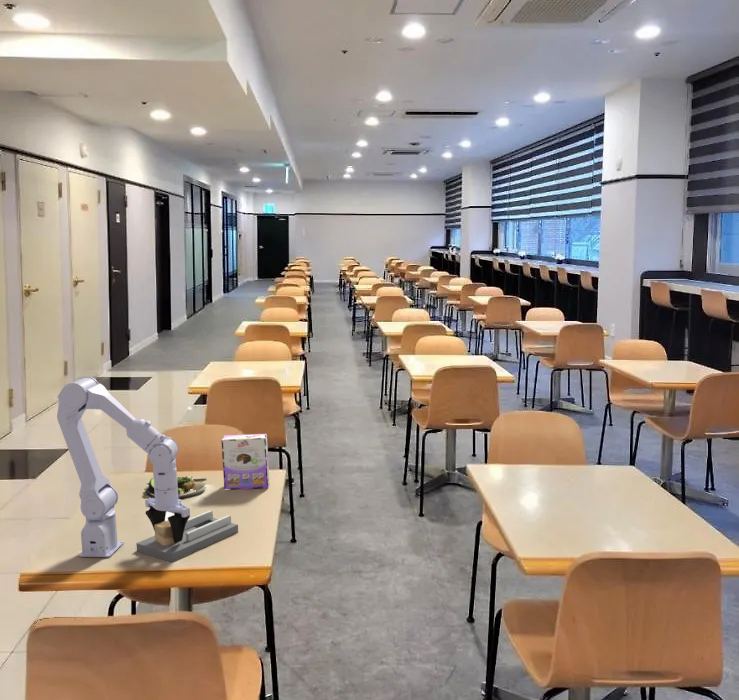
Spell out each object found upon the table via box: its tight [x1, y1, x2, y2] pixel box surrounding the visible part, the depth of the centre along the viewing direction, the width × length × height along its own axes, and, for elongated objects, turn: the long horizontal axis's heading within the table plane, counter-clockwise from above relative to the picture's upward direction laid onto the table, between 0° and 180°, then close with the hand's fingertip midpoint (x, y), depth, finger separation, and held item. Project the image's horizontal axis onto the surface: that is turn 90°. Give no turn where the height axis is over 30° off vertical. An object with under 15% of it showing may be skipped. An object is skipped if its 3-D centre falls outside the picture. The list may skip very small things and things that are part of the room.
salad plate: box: [144, 475, 207, 500], centre depth 248 cm, size 19×18×5 cm
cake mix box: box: [220, 433, 270, 491], centre depth 249 cm, size 14×6×16 cm, turn 92°
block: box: [153, 519, 175, 546], centre depth 202 cm, size 4×4×4 cm
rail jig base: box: [135, 509, 239, 563], centre depth 207 cm, size 23×13×4 cm, turn 145°
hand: (169, 538), depth 202 cm, fingers open, 6 cm apart
